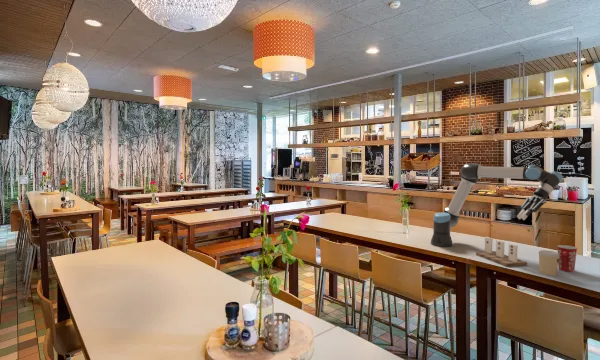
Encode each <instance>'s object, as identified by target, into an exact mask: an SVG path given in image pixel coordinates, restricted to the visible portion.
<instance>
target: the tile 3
mask: <svg viewBox="0 0 600 360" xmlns="http://www.w3.org/2000/svg"><path fill="white" fill-rule="evenodd" d="M518 248H519V247H518V245H515V244H513V243H508V254H507V256H508V260H509V261H512V262H517V259H518Z"/></svg>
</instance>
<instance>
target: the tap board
mask: <svg viewBox="0 0 600 360" xmlns="http://www.w3.org/2000/svg"><path fill="white" fill-rule="evenodd" d="M475 255H476V256H478V257H480V258H483V259H485V260H488V261H491V262H493V263H496V264H498V265H501V266H504V267H506V268H509V267H523V266H527V265H528V262H527V261H524V260H521V259H518V258H517V262H512V261H509V260H508V254H507V255H506V254H504V258H501V257H498V256H496V250H492V254H490V253H487V252H485V251H479V252H478V251H477V252H475Z"/></svg>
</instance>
